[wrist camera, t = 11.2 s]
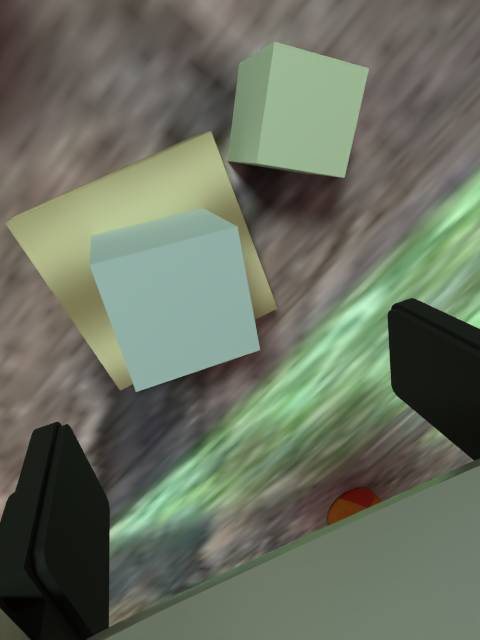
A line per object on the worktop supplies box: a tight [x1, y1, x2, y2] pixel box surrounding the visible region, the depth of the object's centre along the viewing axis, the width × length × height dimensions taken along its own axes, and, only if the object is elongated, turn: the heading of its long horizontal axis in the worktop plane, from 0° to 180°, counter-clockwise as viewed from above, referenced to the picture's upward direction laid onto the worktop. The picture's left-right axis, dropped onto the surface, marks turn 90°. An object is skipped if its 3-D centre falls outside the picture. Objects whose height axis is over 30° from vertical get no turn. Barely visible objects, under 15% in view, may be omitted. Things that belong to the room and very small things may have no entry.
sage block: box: [228, 42, 369, 178], centre depth 21 cm, size 5×5×5 cm
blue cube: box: [90, 208, 260, 392], centre depth 19 cm, size 6×6×6 cm
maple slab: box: [5, 131, 277, 390], centre depth 23 cm, size 11×11×3 cm
